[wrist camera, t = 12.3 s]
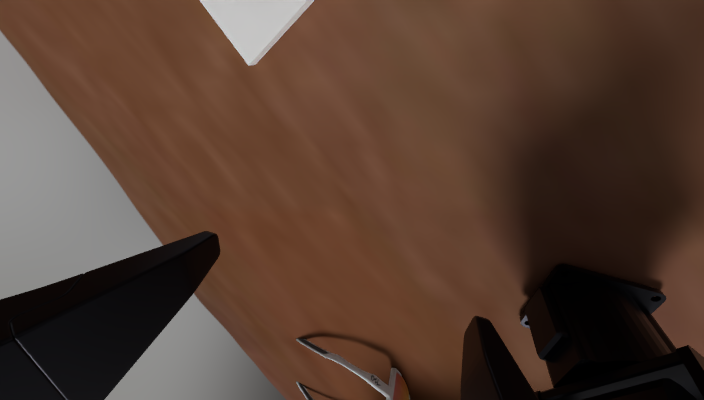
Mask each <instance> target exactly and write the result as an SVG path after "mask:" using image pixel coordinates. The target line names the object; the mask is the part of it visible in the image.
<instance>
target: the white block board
mask: <svg viewBox="0 0 704 400" xmlns="http://www.w3.org/2000/svg"><path fill="white" fill-rule="evenodd" d="M200 2H201V3H202V4H203V6H204V7H205V8H206V10H207V11H208V12H209V14H210V15H211V16H212V17H213V19H214V20H215V21H216V23H217V24H218V25H219V27H220V28H221V29H222V31H223V32H224V33H225V35H226V36H227V37H228V39H229V40H230V41H231V43H232V44H233V45H234V47H235V48H236V49H237V51H238V52H239V53H240V55H241V56H242V57H243V59H244V60H245V61H246V63H247V64H248V65H256V64H257V63H258V61H259V60H260V59H261V58H262V57H263V56H264V55H265V54H266V53H267V52H268V51H269V49H270V48H271V47H272V46H273V45H274V44H275V43H276V42H277V41H278V40H279V39H280V38H281V36H282V35H283V34H284V33H285V32H286V31H287V30H288V29H289V28H290V27H291V26H292V24H293V23H294V22H295V21H296V20H297V19H298V18H299V17H300V16H301V15H302V14H303V12H304V11H305V10H306V9H307V8H308V7H309V6H310V5H311V4H312V3H313V2H314V0H200Z"/></svg>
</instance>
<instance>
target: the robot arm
mask: <svg viewBox="0 0 704 400" xmlns="http://www.w3.org/2000/svg"><path fill="white" fill-rule="evenodd" d="M219 255H220V246H219V239H218V236H217V234H215V233H212V232H209V231H204V232H201V233H198V234H195V235H193V236H190V237H187V238H184V239H181V240H178V241H175V242H172V243H169V244H167V245H164V246H161V247H158V248H155V249H152V250H149V251H146V252H144V253H141V254H138V255H135V256H132V257H129V258H126V259H123V260H120V261H117V262H115V263H112V264H109V265H106V266H103V267H100V268H98V269H95V270H91V271H89V272H86V273H85V274H80V275H77V276H74V277H71V278H68V279H65V280H62V281H59V282H56V283H53V284H50V285H47V286H44V287H41V288H38V289H35V290H31V291H28V292H25V293H21V294H18V295H15V296H11V297H8V298H4V299H1V300H0V400H104V399H105V398H106V397H107V396H108V395H109V393H110V392H111V391H112V390H113V389H114V388H115V386H116V385H117V384H118V383H119V382H120V380H121V379H122V378H123V377H124V376H125V374H126V373H127V372H128V371H129V370H130V368H131V367H132V366H133V365H134V364H135V362H136V361H137V360H138V359H139V358H140V357H141V355H142V354H143V353H144V352H145V351H146V349H147V348H148V347H149V346H150V345H151V343H152V342H153V341H154V340H155V338H156V337H157V336H158V335H159V334H160V333H161V332H162V330H163V329H164V328H165V327H166V326H167V324H168V323H169V322H170V321H171V319H172V318H173V317H174V316H175V315H176V314H177V312H178V311H179V310H180V309H181V308H182V307H183V305H184V304H185V303H186V302H187V300H188V299H189V298H190V297H191V296H192V294H193V293H194V292H195V290H196V289H197V288H198V286H199V285H200V283H201V282H202V281H203V279H204V278H205V276H206V275H207V273H208V272H209V270H210V269H211V267H212V266H213V264H214V263H215V262H216V260H217V259H218V257H219ZM562 271H566V272H563V273H562ZM654 296H655V297H654ZM665 300H666V296H665V295H664V294H663V293H662V292H661V291H660V290H658V289H655V288H651V287H647V286H644V285H640V284H636V283H633V282H629V281H625V280H622V279H618V278H614V277H610V276H607V275H603V274H599V273H596V272H592V271H588V270H585V269H581V268H577V267H574V266H570V265H566V264H560V265H558V266H556V267H555V268H554V270H553V271H552V272H551V274H550V275H549V277H548V278H547V280H546V281H545V282H544V284H543V285H542V286H541V287H539V288H538V290H537V291H536V293H535V294H534V296H533V297H532V298H531V300H530V301H529V303H528V304H527V306H526V307H525V311H524V312H523V314H522V315H521V317H520V321H521V325H522V326H524V327H527V328H530V330H531V334H532V337H533V341H534V344H535V348H536V351H537V354H538V356H539V358H540V359H542V360H545V361H546V365H547V368H548V371H549V374H550V378H551V381H552V384H553V388H552V389H549V390H546V391H542V392H541V391H536V392H534V391H533V389H532V388H531V386H530V385H529V383H528V381H527V380H526V378H525V376H524V375H523V373H522V372H521V370H520V368H519V367H518V365H517V364H516V362H515V360H514V359H513V357H512V355H511V354H510V352H509V351H508V349H507V347H506V346H505V344H504V342H503V341H502V339H501V338H500V336H499V334H498V333H497V331H496V330H495V328H494V326H493V325H492V323H491V322H490V321H489V320H488V319H486V318H483V317H479V316H474V317H473V319H472V321H471V322H470V324H469V326H468V328H467V329H466V331H465V335H464V343H463V359H462V374H461V400H704V357H703V356H701V355H700V354H699V353H698V352H696V351H695V350H694V349H693V348H691V347H690V346H689V345H687V346H684V347H681V348H677V349H676V348H675V346H674V345H673V343H672V342H671V341H670V339H669V338H668V337H667V335H666V334H665V333H664V331H663V330H662V328H661V327H660V326H659V324H658V323H657V322H656V320H655V319H654V318H653V316H652V315H651V314H652V313H653V312H654V311H655V310H656V309H657V308H658V307H659V306H660V305H661V304H662V303H663V302H665Z"/></svg>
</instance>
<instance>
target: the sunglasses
mask: <svg viewBox="0 0 704 400" xmlns="http://www.w3.org/2000/svg"><path fill="white" fill-rule="evenodd" d="M296 340H297V341H298V342H300V343H301V344H303V345H304V346H306V347H308V348H309V349H311V350H313V351H314V352H316V353H318V354H320V355H321V356H323V357H325V358H328V359H330V360H333V361H335V362H337V363H339V364H341V365H343V366H344V367H346V368H348V369H349V370H351V371H352V372H354V373H355V374H357V375H358V376H360V377H361V378H363V379H364V380H365V381H366V382H368V383H369V384H370V385H371V386H373V387H374V388H375V389H376V390H378V391H379V392H381V393H382V394H383V395H384V396H385V397H386V400H410V395H409V392H408V388H407V385H406V383H405V381H404V379H403V378H402V375H401V373H400V372H399V371H398V370H397V369H396V368H391V372H390V378H389V384H388V385H387V384H385V383H384V382H382V381H381V380H380V379H379V378H378V377H377V376H376V375H374V374H371V373H368V372H366V371H364V370H361V369H359V368H358V367H356V366H354V365H353V364H351V363H349V362H348V361H346V360H345V359H344V358H342V357H341V356H340V355H337V354H334V353H331V352H329V351H326V350H324V349H322V348H320V347H318V346H317V345H315V344H313V343H311V342H309V341H308V340H306V339H296ZM296 383H297V385H298V386H299V388H300V390H301V391H302V393H303V394H304V396H305V397H306V399H307V400H314V399H313V398H312V396H311V395H310V393H309V392H308V391H307V389H306V388H305V387H304V386H303V385H302V384H300V383H299V382H297V381H296Z"/></svg>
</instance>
